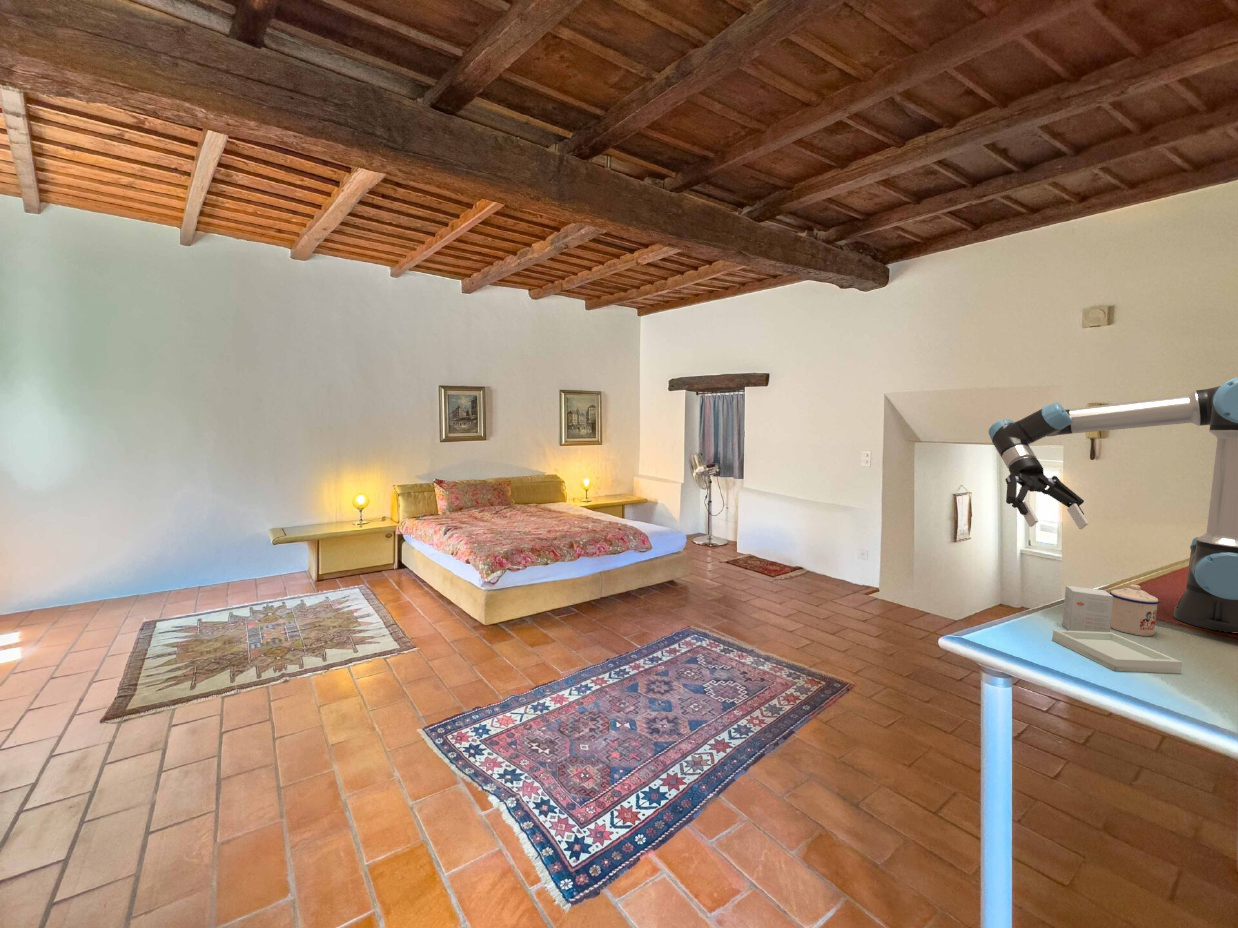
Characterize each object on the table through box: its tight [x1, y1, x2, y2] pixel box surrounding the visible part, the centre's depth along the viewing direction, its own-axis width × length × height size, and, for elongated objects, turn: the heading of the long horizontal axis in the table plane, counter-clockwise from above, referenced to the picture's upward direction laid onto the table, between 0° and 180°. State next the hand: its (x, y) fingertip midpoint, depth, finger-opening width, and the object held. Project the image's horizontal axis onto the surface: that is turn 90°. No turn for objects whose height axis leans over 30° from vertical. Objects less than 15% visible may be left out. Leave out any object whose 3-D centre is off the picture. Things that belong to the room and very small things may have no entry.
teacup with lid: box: [1109, 584, 1160, 637], centre depth 139 cm, size 12×9×12 cm
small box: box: [1062, 585, 1113, 632], centre depth 135 cm, size 8×6×10 cm
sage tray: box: [1051, 629, 1183, 674], centre depth 121 cm, size 14×16×2 cm
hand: (1059, 525), depth 145 cm, fingers open, 13 cm apart
